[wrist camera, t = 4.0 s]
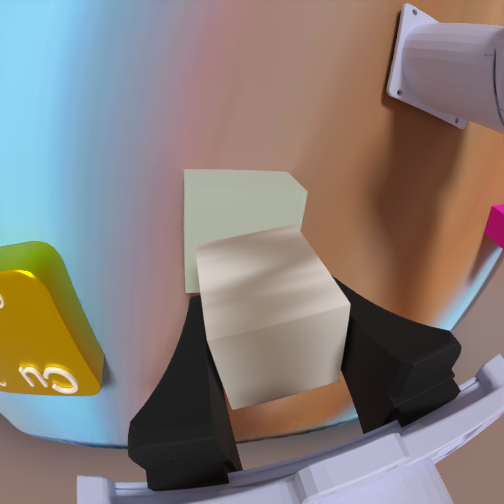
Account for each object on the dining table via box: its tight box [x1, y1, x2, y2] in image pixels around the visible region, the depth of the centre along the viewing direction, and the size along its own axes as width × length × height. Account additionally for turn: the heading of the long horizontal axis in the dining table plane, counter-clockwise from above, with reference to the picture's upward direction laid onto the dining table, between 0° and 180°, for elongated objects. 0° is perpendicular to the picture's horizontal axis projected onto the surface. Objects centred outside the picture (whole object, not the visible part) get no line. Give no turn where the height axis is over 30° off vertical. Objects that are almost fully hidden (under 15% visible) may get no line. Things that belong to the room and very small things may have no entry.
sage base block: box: [183, 169, 308, 293], centre depth 20 cm, size 7×7×4 cm
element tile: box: [0, 241, 104, 396], centre depth 20 cm, size 15×15×5 cm
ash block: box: [195, 224, 351, 410], centre depth 12 cm, size 4×4×6 cm
